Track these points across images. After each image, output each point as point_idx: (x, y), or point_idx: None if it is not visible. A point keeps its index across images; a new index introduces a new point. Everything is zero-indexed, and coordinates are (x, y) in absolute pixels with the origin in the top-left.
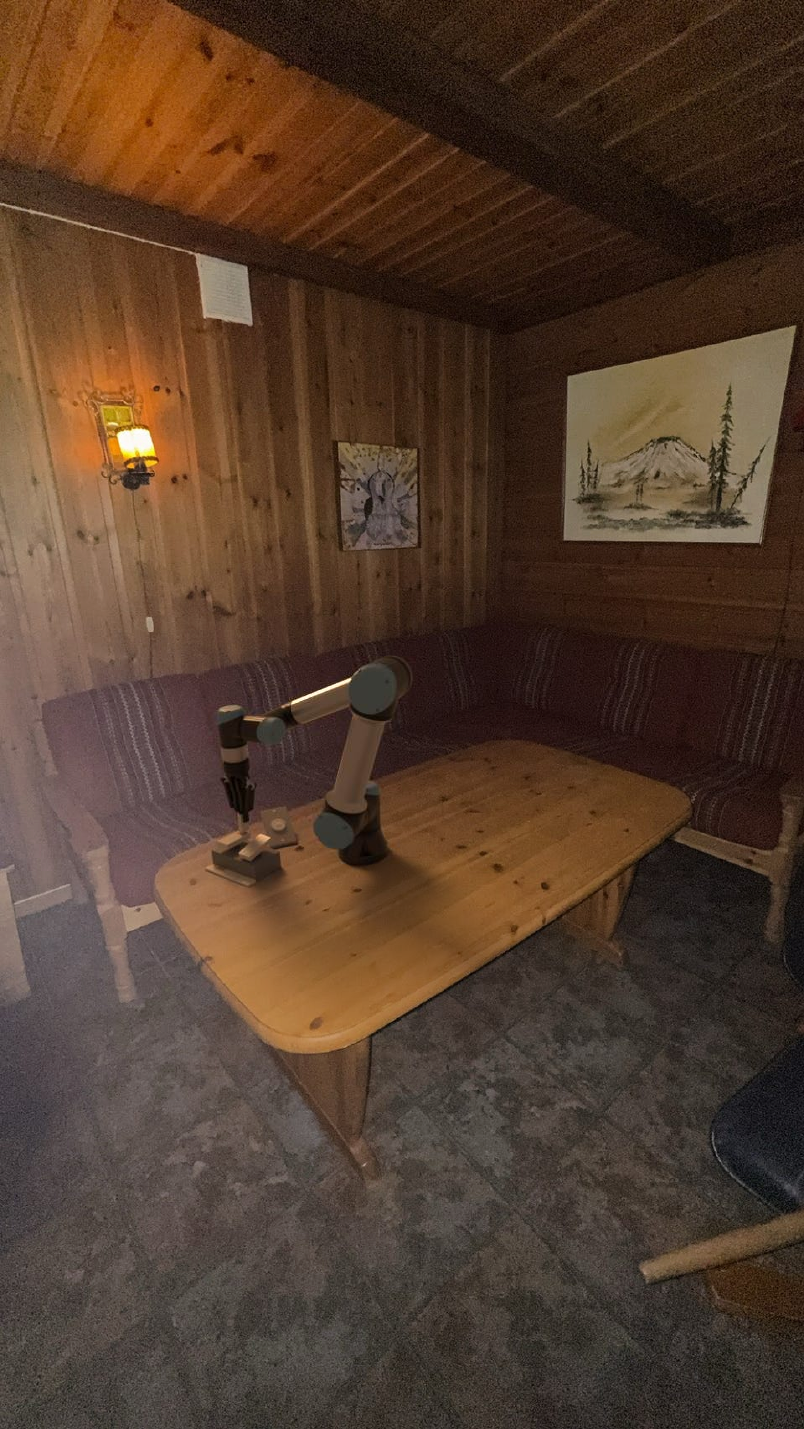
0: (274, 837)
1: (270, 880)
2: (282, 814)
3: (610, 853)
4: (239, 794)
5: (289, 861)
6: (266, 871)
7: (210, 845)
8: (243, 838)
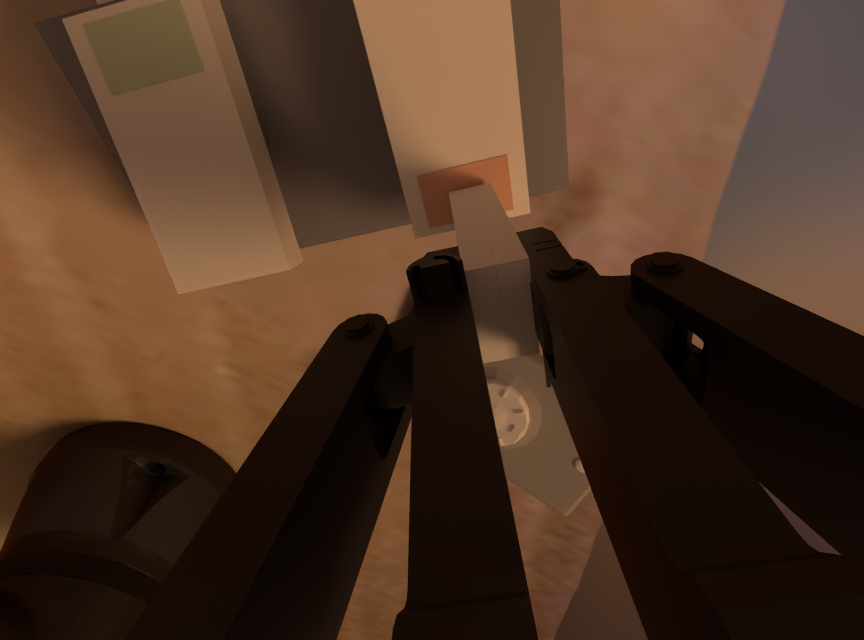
0: None
1: None
2: (535, 470)
3: None
4: (469, 544)
5: (248, 287)
6: None
7: (756, 66)
8: (396, 162)
